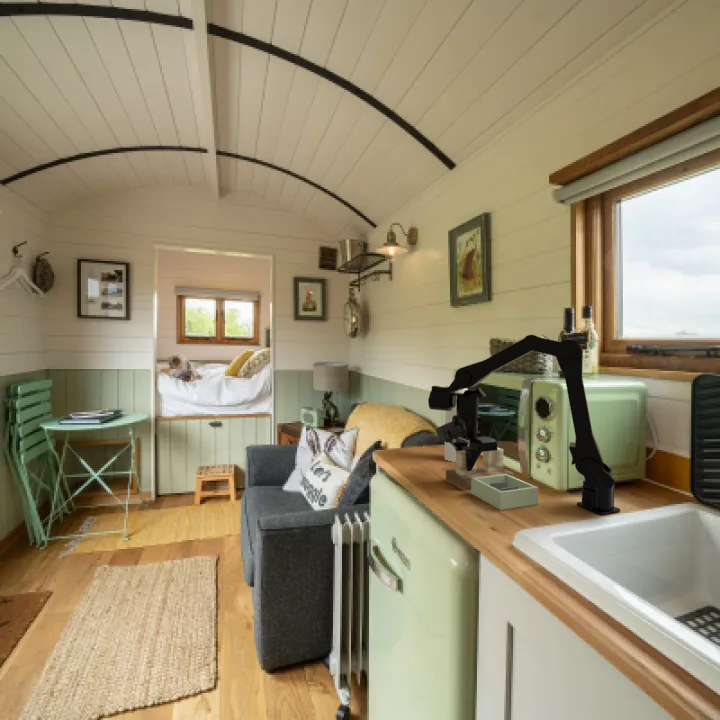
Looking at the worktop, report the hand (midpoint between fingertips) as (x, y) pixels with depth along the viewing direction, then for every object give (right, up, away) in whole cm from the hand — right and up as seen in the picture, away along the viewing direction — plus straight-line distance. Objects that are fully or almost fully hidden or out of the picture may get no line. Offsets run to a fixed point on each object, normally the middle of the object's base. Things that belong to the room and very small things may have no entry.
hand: (466, 469), depth 106 cm
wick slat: (+8, -4, +3) cm, 10 cm away
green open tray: (+6, -4, -10) cm, 13 cm away
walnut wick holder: (+4, -4, +2) cm, 6 cm away
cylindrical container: (+3, -4, +25) cm, 25 cm away
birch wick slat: (0, -4, 0) cm, 4 cm away
